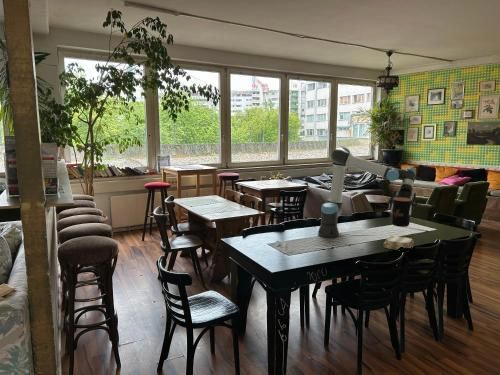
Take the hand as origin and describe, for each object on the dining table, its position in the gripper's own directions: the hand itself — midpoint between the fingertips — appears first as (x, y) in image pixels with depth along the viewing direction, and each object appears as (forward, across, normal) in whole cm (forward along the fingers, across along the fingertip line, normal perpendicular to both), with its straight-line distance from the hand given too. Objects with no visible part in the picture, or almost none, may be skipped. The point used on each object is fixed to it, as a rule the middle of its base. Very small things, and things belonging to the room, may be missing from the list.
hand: (400, 213), depth 240 cm
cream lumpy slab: (+15, 0, -18) cm, 24 cm away
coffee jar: (+4, 0, -8) cm, 9 cm away
